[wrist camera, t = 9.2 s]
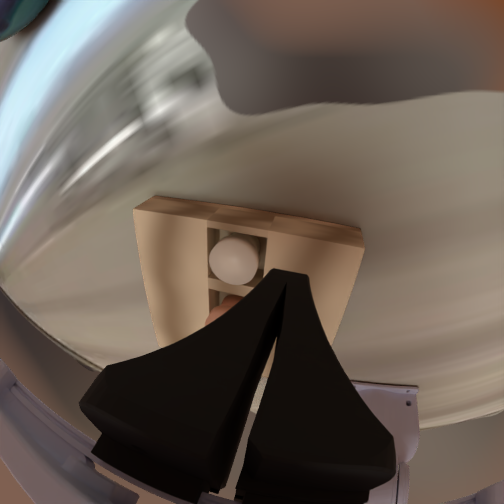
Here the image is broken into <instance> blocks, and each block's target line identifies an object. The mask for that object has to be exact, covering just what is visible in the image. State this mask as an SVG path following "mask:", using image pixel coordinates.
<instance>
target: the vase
mask: <svg viewBox="0 0 504 504" xmlns="http://www.w3.org/2000/svg"><path fill="white" fill-rule="evenodd" d="M49 1H50V0H0V42H2V41H4V40H6V39H8V38H10V37H12V36H13V35H15V34H17V33H18V32H20V31H21V30H22V29H24V28H25V27H26V26H27V25H29V24H30V23H31V22H32V21H33V20H34V19H35V18H36V17H37V16H38V15H39V13H40V12H41V11H42V10H43V9H44V7H45V6H46V5H47V3H48V2H49Z"/></svg>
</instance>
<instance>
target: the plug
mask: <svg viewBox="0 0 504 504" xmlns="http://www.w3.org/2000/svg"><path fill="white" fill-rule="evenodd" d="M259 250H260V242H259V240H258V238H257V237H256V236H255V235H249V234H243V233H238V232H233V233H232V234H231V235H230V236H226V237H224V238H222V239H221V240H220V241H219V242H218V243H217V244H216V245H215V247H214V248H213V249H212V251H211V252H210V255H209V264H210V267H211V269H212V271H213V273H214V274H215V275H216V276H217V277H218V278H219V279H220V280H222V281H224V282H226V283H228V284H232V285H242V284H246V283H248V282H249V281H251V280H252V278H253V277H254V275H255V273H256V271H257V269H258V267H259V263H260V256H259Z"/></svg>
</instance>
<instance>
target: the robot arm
mask: <svg viewBox="0 0 504 504" xmlns="http://www.w3.org/2000/svg"><path fill="white" fill-rule="evenodd" d="M276 337H277V339H276ZM275 340H276V345H275V352H274V358H273V363H272V366H271V370H270V373H269V377H268V380H267V383H266V386H265V390H264V393H263V396H262V399H261V402H260V405H259V408H258V411H257V414H256V417H255V420H254V423H253V426H252V429H251V432H250V435H249V437H248V443H247V448H246V453H245V459H244V464H243V467H242V471H241V473H240V476H239V479H238V482H237V485H236V494H235V497H234V501H233V500H229V499H225V498H222V497H218V496H214V495H211V494H208V493H209V491H210V492H213V493H216V494H218V493H219V491H220V489H222V488H224V487H225V486H226V483H227V480H228V477H229V474H230V471H231V468H232V465H233V462H234V459H235V455H236V452H237V449H238V446H239V443H240V440H241V437H242V433H243V430H244V427H245V424H246V421H247V417H248V414H249V411H250V408H251V404H252V401H253V398H254V394H255V392H256V389H257V386H258V383H259V381H260V379H261V376H262V374H263V371H264V369H265V366H266V364H267V361H268V358H269V356H270V353H271V351H272V348H273V345H274V343H275ZM418 391H419V388H418V387H408V386H393V385H380V384H370V383H361V382H352V381H350V380H349V378H348V376H347V375H346V373H345V372H344V370H343V368H342V366H341V365H340V363H339V361H338V359H337V357H336V355H335V353H334V351H333V349H332V347H331V345H330V343H329V341H328V339H327V336H326V334H325V332H324V329H323V327H322V324H321V321H320V319H319V316H318V313H317V310H316V307H315V303H314V300H313V296H312V292H311V287H310V279H309V276H308V275H307V274H302V273H297V272H292V271H286V270H281V269H276V268H273V269H271V270H270V271H269V272H268V273H267V274H266V276H265V277H264V278H263V279H262V280H261V281H260V282H259V283H258V284H257V285H256V286H255V287H254V288H253V289H252V290H251V291H250V292H249V293H248V294H247V295H246V296H245V297H244V298H242V299H241V300H240V301H239V302H238V303H236V304H235V305H234V306H233V307H231V308H230V309H229V310H228V311H226V312H225V313H224V314H222V315H221V316H220V317H218V318H217V319H215V320H214V321H212V322H211V323H209V324H208V325H206V326H205V327H203V328H201V329H200V330H198V331H196V332H194V333H192V334H191V335H189V336H187V337H185V338H183V339H181V340H179V341H177V342H175V343H173V344H170V345H168V346H166V347H163V348H161V349H159V350H156V351H154V352H151V353H149V354H146V355H143V356H140V357H137V358H133V359H130V360H126V361H123V362H119V363H115V364H111V365H107V366H106V367H105V368H104V370H103V371H102V372H101V373H100V374H99V375H98V376H97V378H96V379H95V380H94V382H93V383H92V385H91V386H90V388H89V389H88V390H87V392H86V393H85V394H84V396H83V397H82V399H81V400H80V402H79V406H80V409H81V411H82V412H83V413H84V414H85V415H86V417H87V418H88V419H89V420H90V421H91V422H92V423H93V424H94V425H95V426H96V427H97V428H98V429H99V430H100V431H101V432H102V435H101V436H100V438H99V439H98V441H97V442H96V441H94V440H93V439H91V438H89V437H88V436H86V435H85V434H83V433H82V432H80V431H79V430H78V429H76V428H75V427H73V426H72V425H70V424H69V423H68V422H66V421H65V420H64V419H62V418H61V417H60V416H59V415H57V414H56V413H54V412H53V411H52V410H51V409H50V408H48V407H47V406H46V405H45V404H44V403H43V402H41V401H40V400H39V399H38V398H37V397H35V396H34V395H33V394H32V393H31V392H30V391H29V390H28V389H27V388H26V387H25V386H23V384H22V383H20V382H19V381H18V380H17V378H16V376H15V375H14V374H13V372H12V371H11V370H10V369H9V367H8V366H7V365H6V364H5V363H4V362H3V361H2V360H1V358H0V457H1V459H2V460H3V462H4V463H5V465H6V466H7V468H8V469H9V471H10V472H11V474H12V475H13V476H14V478H15V479H16V481H17V482H18V483H19V485H20V486H21V487H22V488H23V490H24V491H25V492H26V493H27V495H28V496H29V497H30V498H31V499H32V501H33V502H34V503H35V504H136V503H137V500H138V499H139V495H138V494H137V493H135V492H133V491H131V490H129V489H127V488H125V487H124V486H122V485H120V484H118V483H116V482H115V481H113V480H111V479H109V478H107V477H106V476H104V475H102V474H101V473H99V472H98V471H96V469H95V464H94V462H95V463H97V464H99V465H100V466H102V467H103V468H105V469H107V470H109V471H110V472H112V473H114V474H115V475H117V476H119V477H121V478H123V479H124V480H126V481H128V482H130V483H132V484H134V485H136V486H138V487H140V488H142V489H144V490H146V491H148V492H150V493H152V494H155V495H157V496H159V497H161V498H164V499H166V500H169V501H171V502H173V503H176V504H395V503H396V504H407V502H408V494H409V465H407V464H405V463H407V462H408V461H409V460H410V459H411V458H412V457H413V456H414V454H415V452H416V450H417V447H418V443H419V436H420V431H419V418H418V408H417V399H416V394H417V393H418ZM93 461H94V462H93ZM398 465H399V471H398ZM397 477H398V480H397ZM440 504H504V480H502V481H500V482H497V483H495V484H493V485H490V486H488V487H486V488H484V489H482V490H480V491H478V492H477V493H475V494H472V495H469V496H466V497H463V498H459V499H456V500H452V501H449V502H445V503H440Z"/></svg>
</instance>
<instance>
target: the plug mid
mask: <svg viewBox="0 0 504 504" xmlns="http://www.w3.org/2000/svg"><path fill="white" fill-rule="evenodd" d="M242 298H243V297H241V296H238V295H228V296H226V297H225V298H224V299H223V301H222V303H221V305H220V306H217V307H215V308H213V309H212V310H211V312H210V314H209V316H208V317H207V319H206V321H205V326H206V325H208V324H209V323H211V322H212V321H214V320H215V319H217V318H218V317H220V316H221V315H222V314H224V313H225V312H226V311H228V310H229V309H230V308H231V307H233V306H234V305H235V304H236V303H238V302H239V301H240V300H241V299H242Z"/></svg>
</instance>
